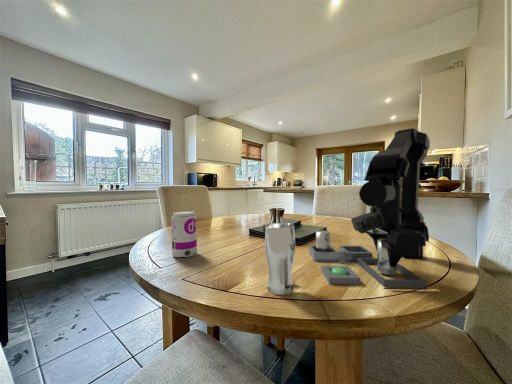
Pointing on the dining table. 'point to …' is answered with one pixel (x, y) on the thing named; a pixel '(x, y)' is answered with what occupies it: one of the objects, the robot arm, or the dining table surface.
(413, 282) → the grey rectangular frame
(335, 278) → the button housing
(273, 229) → the silver vase
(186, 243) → the supplement can
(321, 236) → the seated billet
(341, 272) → the button
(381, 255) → the billet
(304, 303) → the dining table surface
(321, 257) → the grey shallow tray
